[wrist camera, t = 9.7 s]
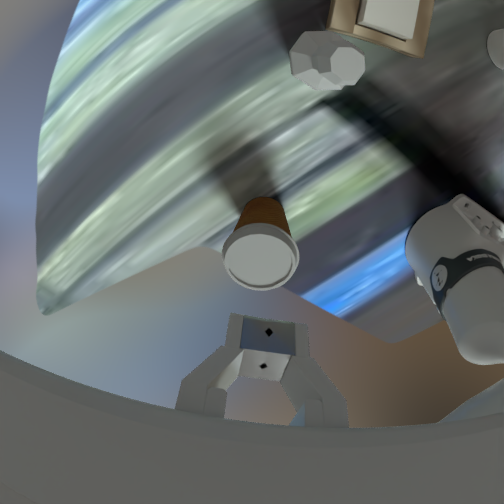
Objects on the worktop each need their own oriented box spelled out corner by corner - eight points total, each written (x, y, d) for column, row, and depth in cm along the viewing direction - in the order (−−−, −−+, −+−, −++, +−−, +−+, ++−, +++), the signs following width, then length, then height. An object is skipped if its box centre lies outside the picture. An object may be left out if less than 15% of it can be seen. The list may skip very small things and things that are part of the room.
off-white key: (407, 0, 25) (420, -4, 22) (399, 39, 29) (412, 39, 26) (362, -17, 25) (371, -23, 22) (354, 24, 29) (363, 21, 25)
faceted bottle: (281, 74, 36) (286, 95, 18) (292, 30, 32) (309, 4, 14) (328, 87, 36) (379, 123, 18) (341, 44, 32) (405, 38, 15)
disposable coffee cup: (252, 175, 44) (245, 215, 35) (307, 207, 47) (315, 255, 37) (221, 223, 49) (207, 272, 40) (273, 251, 52) (271, 303, 42)
